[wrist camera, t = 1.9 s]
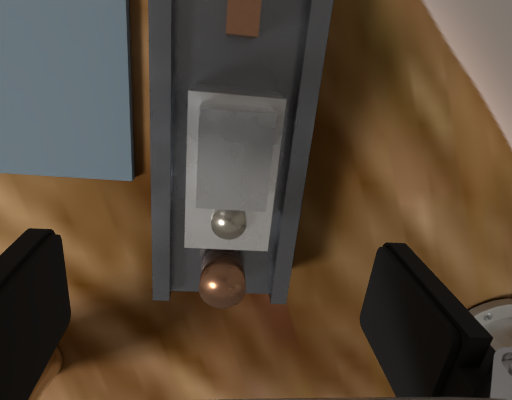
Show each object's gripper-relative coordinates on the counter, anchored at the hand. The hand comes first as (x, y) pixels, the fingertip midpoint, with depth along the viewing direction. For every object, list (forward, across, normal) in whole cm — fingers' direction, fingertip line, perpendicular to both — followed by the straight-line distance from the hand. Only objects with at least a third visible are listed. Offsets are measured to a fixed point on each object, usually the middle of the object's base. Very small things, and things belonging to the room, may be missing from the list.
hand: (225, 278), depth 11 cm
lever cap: (+14, -1, 0) cm, 14 cm away
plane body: (+17, -1, 0) cm, 17 cm away
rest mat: (+18, +12, -2) cm, 22 cm away
